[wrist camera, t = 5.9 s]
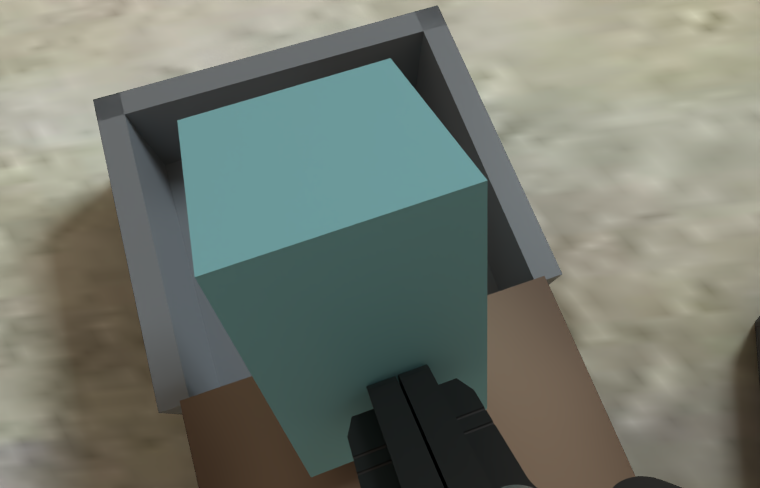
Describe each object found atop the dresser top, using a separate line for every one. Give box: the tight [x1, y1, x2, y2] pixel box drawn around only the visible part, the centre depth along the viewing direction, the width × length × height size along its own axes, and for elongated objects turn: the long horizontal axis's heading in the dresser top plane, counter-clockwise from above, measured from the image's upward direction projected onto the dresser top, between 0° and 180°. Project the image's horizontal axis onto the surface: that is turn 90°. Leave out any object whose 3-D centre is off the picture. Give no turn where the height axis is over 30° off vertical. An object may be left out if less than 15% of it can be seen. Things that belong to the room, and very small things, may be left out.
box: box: [93, 6, 562, 414], centre depth 22 cm, size 14×12×5 cm
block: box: [177, 58, 488, 477], centre depth 13 cm, size 5×5×8 cm
